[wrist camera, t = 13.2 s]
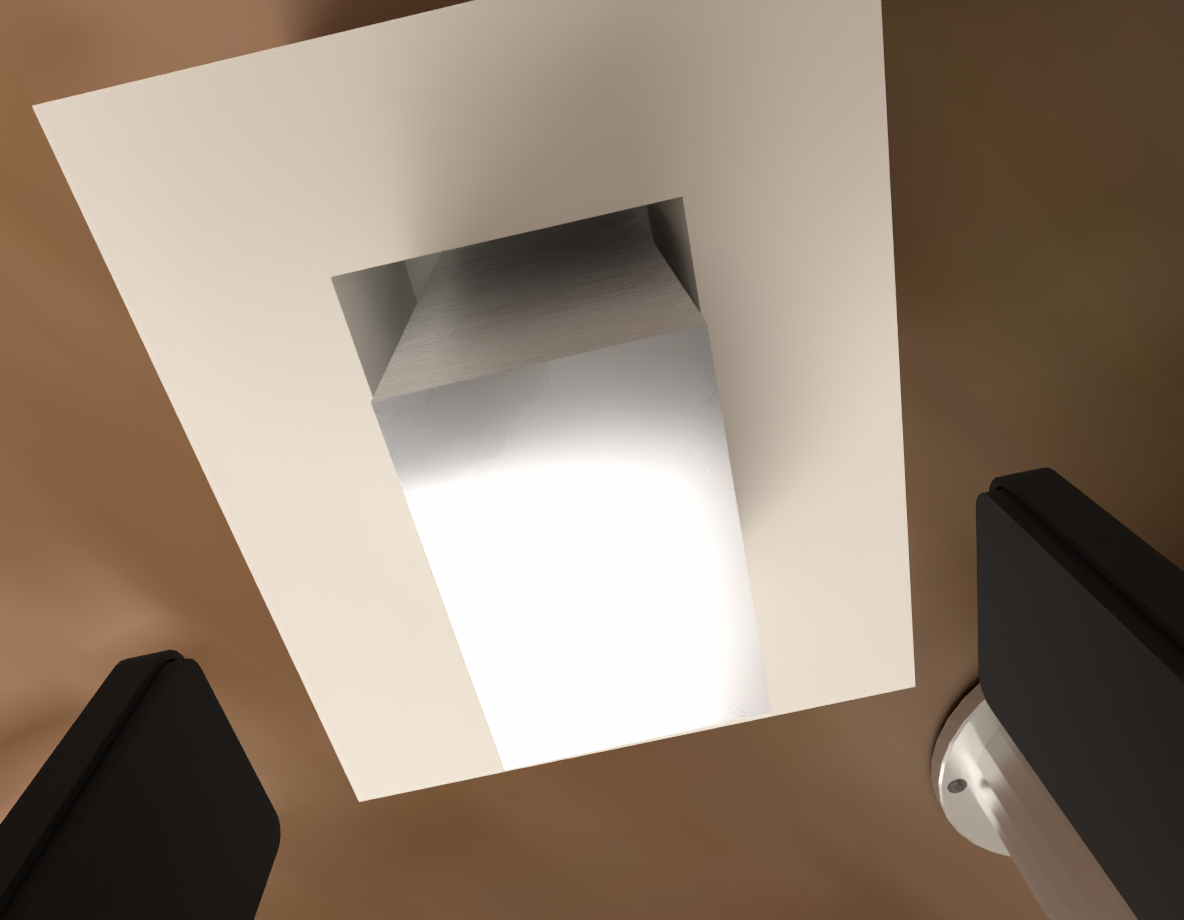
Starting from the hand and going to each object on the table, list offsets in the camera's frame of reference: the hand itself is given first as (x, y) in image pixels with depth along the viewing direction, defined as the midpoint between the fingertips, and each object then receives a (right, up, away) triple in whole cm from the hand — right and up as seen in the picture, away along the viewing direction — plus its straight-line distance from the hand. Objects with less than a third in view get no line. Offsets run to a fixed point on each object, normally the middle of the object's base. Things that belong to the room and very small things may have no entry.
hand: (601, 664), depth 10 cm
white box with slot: (-2, +9, +17) cm, 19 cm away
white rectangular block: (-1, +5, +10) cm, 11 cm away
